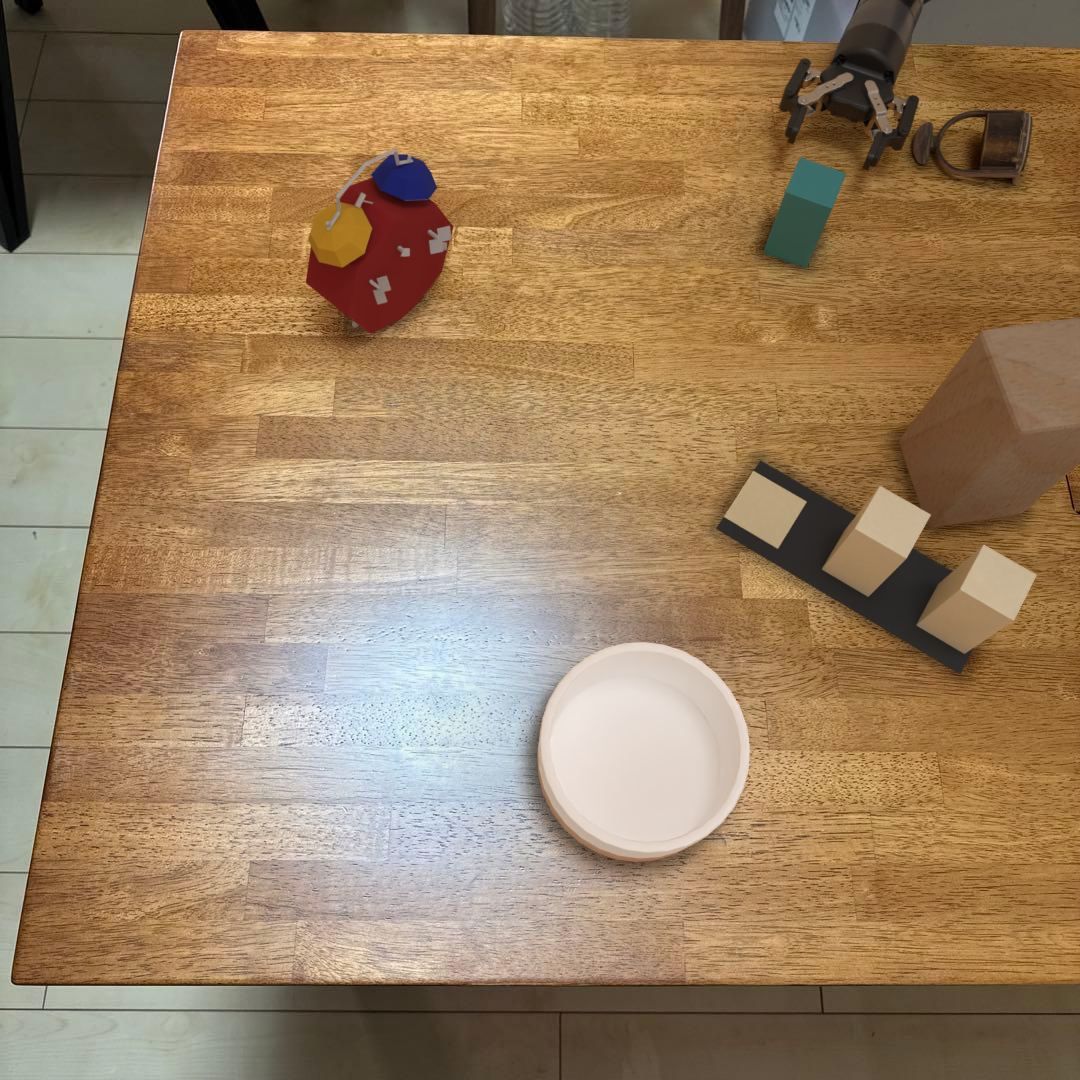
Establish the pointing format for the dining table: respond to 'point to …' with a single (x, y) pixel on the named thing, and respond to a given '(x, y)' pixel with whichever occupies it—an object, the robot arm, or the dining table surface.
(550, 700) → the bowl
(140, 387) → the dining table surface
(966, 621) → the cream block
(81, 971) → the dining table surface
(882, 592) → the mat
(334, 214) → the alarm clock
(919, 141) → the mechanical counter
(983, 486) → the wooden block
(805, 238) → the teal block
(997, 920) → the dining table surface
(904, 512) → the cream block
